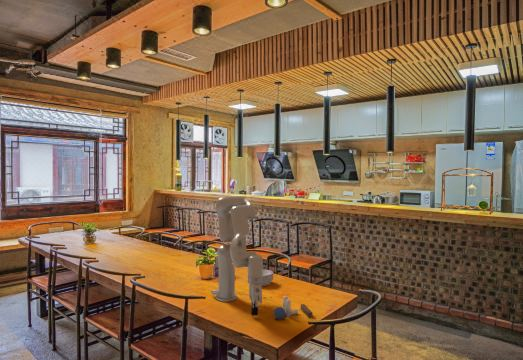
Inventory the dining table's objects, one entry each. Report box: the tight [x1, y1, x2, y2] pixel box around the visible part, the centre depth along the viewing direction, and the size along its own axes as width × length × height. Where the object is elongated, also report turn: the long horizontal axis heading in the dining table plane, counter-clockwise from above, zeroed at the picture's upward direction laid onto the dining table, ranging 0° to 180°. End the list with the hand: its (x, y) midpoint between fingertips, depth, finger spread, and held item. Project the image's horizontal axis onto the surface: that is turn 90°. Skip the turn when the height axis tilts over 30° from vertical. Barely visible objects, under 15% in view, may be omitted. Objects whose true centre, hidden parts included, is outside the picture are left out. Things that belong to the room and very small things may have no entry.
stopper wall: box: [300, 303, 313, 319], centre depth 186 cm, size 2×12×2 cm, turn 14°
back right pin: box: [285, 299, 292, 319], centre depth 181 cm, size 2×2×9 cm
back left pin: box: [282, 295, 289, 310], centre depth 186 cm, size 2×2×9 cm
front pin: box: [285, 309, 299, 316], centre depth 184 cm, size 2×2×9 cm
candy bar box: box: [212, 251, 219, 278], centre depth 253 cm, size 11×5×16 cm, turn 138°
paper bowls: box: [261, 269, 274, 287], centre depth 233 cm, size 15×15×8 cm
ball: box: [273, 306, 286, 320], centre depth 178 cm, size 6×6×6 cm
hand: (254, 314), depth 180 cm, fingers closed
